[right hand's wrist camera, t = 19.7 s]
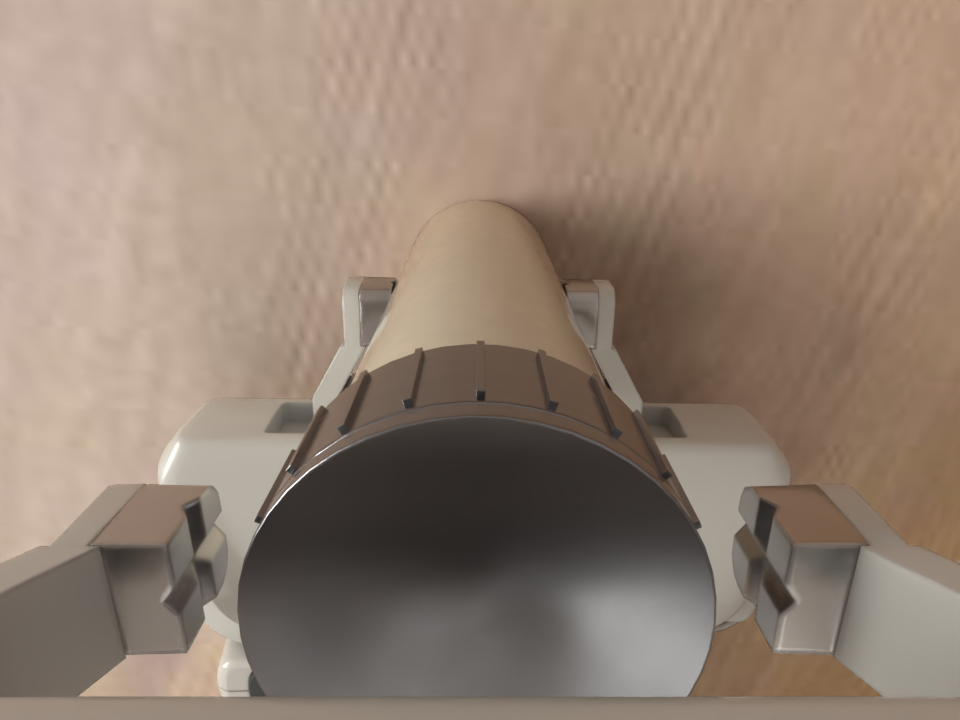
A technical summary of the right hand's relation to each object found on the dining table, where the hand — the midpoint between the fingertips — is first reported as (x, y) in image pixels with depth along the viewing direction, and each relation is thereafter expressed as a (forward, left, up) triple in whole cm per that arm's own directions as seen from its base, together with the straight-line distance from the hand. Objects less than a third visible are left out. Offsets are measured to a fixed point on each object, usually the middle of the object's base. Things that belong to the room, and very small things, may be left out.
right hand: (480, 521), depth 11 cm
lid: (0, 0, +2) cm, 2 cm away
